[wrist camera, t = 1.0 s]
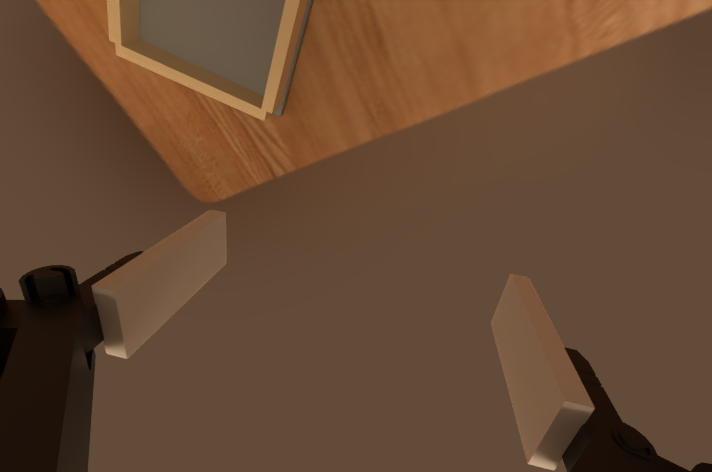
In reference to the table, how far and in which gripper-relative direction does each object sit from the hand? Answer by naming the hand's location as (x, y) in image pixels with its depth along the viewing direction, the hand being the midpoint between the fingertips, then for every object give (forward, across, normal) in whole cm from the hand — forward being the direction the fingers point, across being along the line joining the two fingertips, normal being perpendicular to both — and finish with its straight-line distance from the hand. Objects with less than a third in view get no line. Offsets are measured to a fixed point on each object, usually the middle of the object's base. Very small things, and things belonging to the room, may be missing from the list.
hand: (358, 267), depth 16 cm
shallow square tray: (+25, -20, +12) cm, 35 cm away
